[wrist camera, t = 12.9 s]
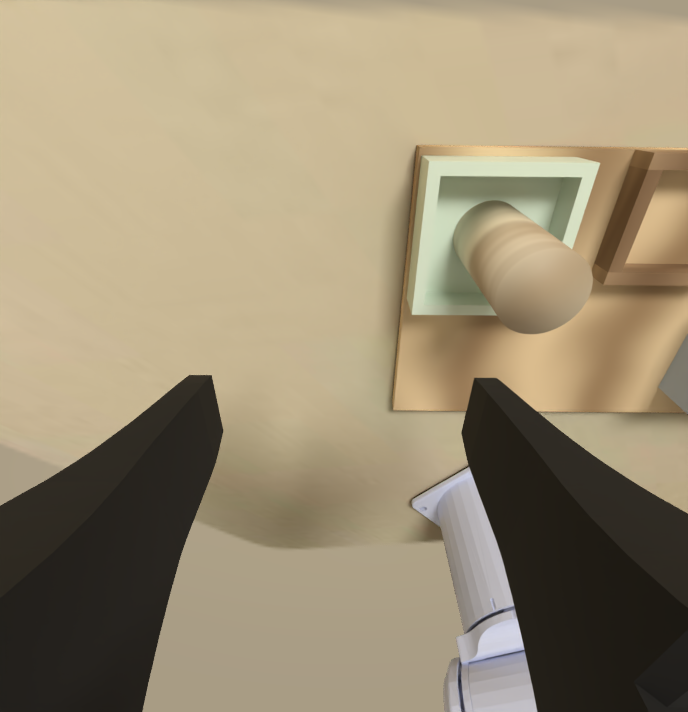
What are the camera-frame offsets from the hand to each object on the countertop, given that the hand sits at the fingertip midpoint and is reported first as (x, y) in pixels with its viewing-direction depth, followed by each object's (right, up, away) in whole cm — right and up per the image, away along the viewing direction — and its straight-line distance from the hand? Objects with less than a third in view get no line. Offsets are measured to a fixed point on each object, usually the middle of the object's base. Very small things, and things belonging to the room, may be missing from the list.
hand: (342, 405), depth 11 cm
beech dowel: (+6, +7, +7) cm, 11 cm away
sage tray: (+6, +7, +7) cm, 12 cm away
